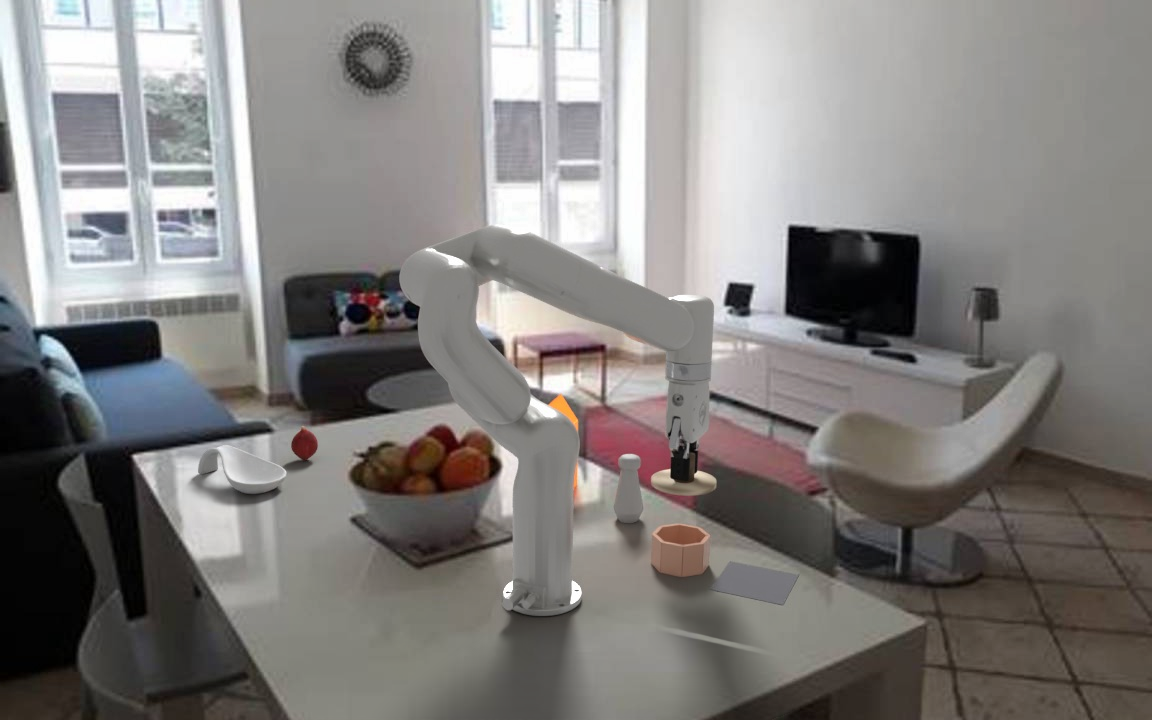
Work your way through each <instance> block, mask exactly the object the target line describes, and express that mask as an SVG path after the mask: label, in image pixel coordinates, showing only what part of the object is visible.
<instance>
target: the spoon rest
mask: <svg viewBox="0 0 1152 720" xmlns="http://www.w3.org/2000/svg"><path fill="white" fill-rule="evenodd" d="M218 455H220V458H221V461H222V468H223V473H224V477H225V478H226V479H227V482H228V483H229V484H230V486H232V487H233V488H234V490H236V491H238V492H241V493H243V494H245V495H259V494H264V493H267V492H270V491H272V490H275V488H278V486H279V485H281V484H282V483H283V482H284V481H285V479H286V477H287V471H286V469H285V468H283V467H282V466H281V465H279V464H277V463H274V462H272V461H269V460H267V459H264V458H262V457H259V456H257V455H255V454H252V453H250V452H248V451H245V450H243V449H240V448H237V447H234V446H232V445H230V444H229V445H228V444H223V445H219V446H218V447H212V448H211V447H210V448H207V450H205V451H204V452H203V454H202V455H201V457H200V459H199V461H198V466H197V474H199V475H205V474H209V473H211V472H215V471H216V470H218V469H219V464H218V459H219V458H218Z"/></svg>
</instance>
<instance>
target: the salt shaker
mask: <svg viewBox="0 0 1152 720" xmlns="http://www.w3.org/2000/svg"><path fill="white" fill-rule="evenodd" d="M617 463H618V467H619V469H620V473H619V479H618V483H617V488H616V492H615V493H616V494H615V498H614V503H613V511H614V513H615V516H616V518H617V520H618V521H620V523H623V524H624V523H626V524H633V523H637V521H639V519H640V517H641V516H642V514H643V512H644V509H645V508H644V502H643V497H642V491H641V486H640V479H639V472H638V470H639V469H640V468H641V466H642V465H641V464H642V460H641V457H640V456H639V455H637V454H634V453H624V454H622V455H621V456H620V457H618V460H617Z"/></svg>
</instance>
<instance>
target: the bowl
mask: <svg viewBox="0 0 1152 720" xmlns="http://www.w3.org/2000/svg"><path fill="white" fill-rule="evenodd" d="M650 547H651V549H650V550H651V552H650V554H651V555H650V564H651V565H652V566H653V567H654V568H655V569H656V570H657V571H658V572H659V573H661V574H665V575H670V576H675V577H680V578H685V577H690V576H691V577H692V576H698V575H702V574H703V573H704V572H705V571H706V570H707V568H708V567H709V566H710V550H711V535H710V534H709V533H708V532H706V530H704V529H703V528H702V527H700V526H696V525H690V524H685V523H679V522H678V523H671V524H662V525H659V526H658V527H657V528H655V530H654V531H653V532H652V533H651V546H650Z"/></svg>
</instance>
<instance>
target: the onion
mask: <svg viewBox="0 0 1152 720" xmlns="http://www.w3.org/2000/svg"><path fill="white" fill-rule="evenodd" d="M318 443H319V442H318V439H317V437H316V436H315V434H314V433H313V432H311V431H310V430H308V429H307V428H306V426H304V425H302V426H301V429H300V431H299V432H297V433H296V434H294V436H293V438H292V440H291V444H290V445H291V451H292V452H293V454H294V455H295V456H297V457H298V458H299V459H301V460H302V461H308V459H310V458H311V457H312V456H314V455H315V454H316V453H317V451H318V448H319V447H318V446H319V444H318Z"/></svg>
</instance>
